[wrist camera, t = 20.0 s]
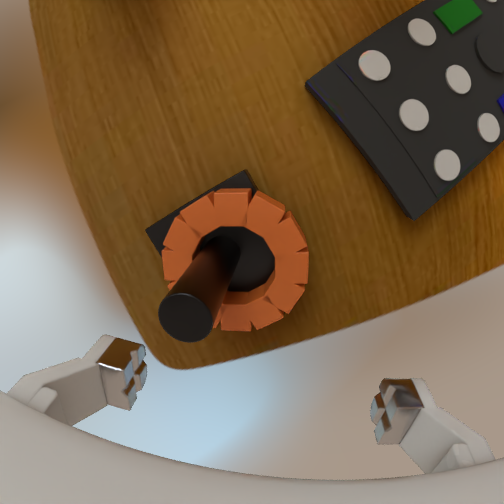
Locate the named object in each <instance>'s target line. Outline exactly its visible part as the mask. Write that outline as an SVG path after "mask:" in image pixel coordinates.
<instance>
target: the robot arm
mask: <svg viewBox="0 0 504 504" xmlns="http://www.w3.org/2000/svg"><path fill="white" fill-rule="evenodd" d="M145 355H146V352H145V346H144V345H143V344H139V343H135V342H131V341H128V340H124V339H120V338H116V337H113V336H109V335H103V336H101V337H100V339H99V340H98V341H97V342H96V343H95V344H94V345H93V347H92V348H91V349H90V350H89V351H88V352H87V353H86V354H85V356H84V357H83V358H82V359H81V358H76V359H73V360H70V361H67V362H64V363H61V364H58V365H55V366H52V367H49V368H45V369H42V370H39V371H36V372H33V373H30V374H26V375H24V376H23V377H22V378H21V379H20V380H19V381H18V382H17V383H16V384H15V385H14V386H13V387H12V388H11V390H10V391H9V392H8V393H7V394H5V393H4V392H2V391H0V504H504V458H500V459H497V460H495V458H494V455H493V453H492V451H491V449H490V447H489V445H488V443H487V441H486V439H485V438H484V437H482V436H481V435H479V434H478V433H477V432H475V431H474V430H472V429H471V428H470V427H468V426H467V425H465V424H464V423H462V422H461V421H460V420H458V419H457V418H455V417H454V416H452V415H451V414H450V413H448V412H447V411H445V410H444V409H443V408H441V407H439V408H438V407H437V405H436V403H435V401H434V399H433V397H432V395H431V393H430V391H429V389H428V387H427V385H426V383H425V381H424V380H423V379H422V378H411V379H389V378H386V379H385V378H384V379H383V380H382V382H381V384H380V386H379V388H380V393H379V394H377V395H376V396H375V397H374V399H373V402H372V405H371V419H372V422H373V423H374V424H375V425H377V426H376V428H375V430H374V432H375V436H376V440H377V444H399V446H400V447H401V448H402V449H403V450H404V451H405V452H406V453H407V454H408V456H409V457H410V458H411V459H412V460H413V461H414V462H415V463H416V464H417V465H418V466H419V467H420V469H421V470H422V471H423V472H424V473H425V474H422V475H414V476H406V477H395V478H383V479H366V480H364V479H363V480H311V479H292V478H280V477H269V476H259V475H252V474H244V473H238V472H231V471H225V470H219V469H214V468H208V467H203V466H198V465H194V464H189V463H185V462H180V461H176V460H172V459H168V458H164V457H160V456H157V455H153V454H150V453H146V452H142V451H139V450H136V449H133V448H130V447H126V446H123V445H120V444H117V443H114V442H112V441H109V440H106V439H103V438H100V437H98V436H95V435H92V434H90V433H87V432H85V431H82V430H80V429H77V428H75V427H72V426H73V425H74V424H76V423H78V422H80V421H81V420H83V419H85V418H87V417H88V416H90V415H92V414H94V413H95V412H97V411H99V410H100V409H102V408H104V407H106V406H107V404H108V405H111V406H115V407H118V408H122V409H125V410H129V411H130V410H131V408H132V406H133V404H134V402H135V401H136V399H137V396H136V392H138V391H140V390H142V388H143V386H144V384H145V380H146V376H147V365H146V363H145V362H144V361H143V358H144V357H145Z"/></svg>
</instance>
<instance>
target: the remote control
mask: <svg viewBox="0 0 504 504" xmlns="http://www.w3.org/2000/svg"><path fill="white" fill-rule="evenodd" d="M305 87H306V88H307V89H308V90H309V91H310V93H311V94H312V95H313V96H314V97H315V98H316V99H317V100H318V101H319V103H320V104H321V105H322V106H323V107H324V108H325V109H326V111H327V112H328V113H329V114H330V115H331V116H332V117H333V119H334V120H335V121H336V122H337V123H338V125H339V126H340V127H341V128H342V129H343V131H344V132H345V133H346V134H347V136H348V137H349V138H350V139H351V140H352V142H353V143H354V144H355V146H356V147H357V148H358V149H359V151H360V152H361V153H362V154H363V156H364V157H365V158H366V160H367V161H368V162H369V164H370V165H371V166H372V168H373V169H374V170H375V172H376V173H377V174H378V176H379V177H380V179H381V180H382V181H383V183H384V184H385V185H386V187H387V188H388V190H389V191H390V193H391V194H392V195H393V197H394V198H395V200H396V201H397V203H398V204H399V206H400V207H401V209H402V210H403V212H404V213H405V215H406V216H407V217H409V218H410V219H412V220H413V221H415V220H416V219H417V218H418V217H420V216H421V215H422V214H423V213H424V212H425V211H427V210H428V209H429V208H430V207H431V206H432V205H434V204H435V203H436V202H437V201H438V200H439V199H440V198H442V197H443V196H444V195H445V194H446V193H447V192H448V191H450V190H451V189H452V188H453V187H454V186H455V185H456V184H457V183H458V182H460V181H461V180H462V179H463V178H464V177H465V176H466V175H467V174H468V173H469V172H470V171H472V170H473V169H474V168H475V167H476V166H477V165H478V164H479V163H480V162H481V161H482V160H483V159H484V158H485V157H486V156H488V155H489V154H490V153H491V152H492V151H493V150H494V149H495V148H496V147H497V146H498V145H499V144H500V143H501V142H502V141H503V140H504V0H425V1H423V2H421V3H420V4H418V5H416V6H415V7H413V8H411V9H410V10H408V11H407V12H405V13H403V14H402V15H400V16H399V17H397V18H395V19H394V20H392V21H391V22H389V23H388V24H386V25H385V26H383V27H381V28H380V29H378V30H377V31H375V32H374V33H372V34H371V35H370V36H368V37H367V38H365V39H364V40H362V41H361V42H359V43H358V44H356V45H355V46H354V47H352V48H351V49H349V50H348V51H347V52H345V53H344V54H342V55H341V56H340V57H338V58H337V59H335V60H334V61H333V62H331V63H330V64H329V65H327V66H326V67H325V68H323V69H322V70H321V71H319V72H318V73H317V74H315V75H314V76H313V77H311V78H310V79H309V80H307V81H306V83H305Z"/></svg>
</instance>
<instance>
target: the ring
mask: <svg viewBox="0 0 504 504" xmlns="http://www.w3.org/2000/svg"><path fill="white" fill-rule="evenodd" d="M220 226H225V227H245V228H247V229H249V230H250V231H252V232H254V233H256V234H257V235H259V236H261V237H263V238H264V240H265V241H266V243H267V245H268V246H269V248H270V250H271V251H272V253H273V255H274V256H275V269H274V271H273V272H272V274H271V275H270V277H269V279H268V280H267V282H266V283H265V284H263V285H261V286H259V287H257V288H255V289H253V290H251V291H249V292H231V291H227V292H226V294H225V297H224V299H223V302H222V304H221V307H220V309H219V312H218V314H217V317H216V319H215V322H214V324H213V328H216V327H217V325H218V323H219V322H220V321H221V330H228V331H251V328H252V324H253V325H254V327H255V328H256V329H257V330H259V329H261V328H263V327H265V326H267V325H270V324H272V323H274V322H276V321H278V320H280V319H282V318H284V312H286V313H288V314H289V313H290V311H291V310H292V308H293V307H294V306H295V304H296V303H297V301H298V300H299V298H300V297H301V295H302V294H303V293H304V291H305V284H307V283H308V266H309V251H308V247H307V242H306V238H305V235H304V234H303V232H302V230H301V228H300V227H299V225H298V223H297V221H296V220H295V218H294V216H293V214H292V213H291V211H288V212H286V213H285V205H283V204H282V203H280V202H278V201H276V200H275V199H273V198H271V197H269V196H268V195H266V194H264V193H262V192H261V191H257V192H256V193H255V195H254V197H253V199H252V191H251V188H230V189H219V190H218V191H216V192H214V191H212V192H210V193H209V194H207V195H205V196H204V197H202V198H201V199H199V200H197V201H196V202H194V203H193V204H191V205H190V206H188V207H186V208H185V209H183V210H182V211H180V215H178V216H177V217H175V219H174V221H173V223H172V225H171V227H170V229H169V231H168V234H167V236H166V238H165V240H164V242H163V245H164V246H166V247H165V248H164V249H163V250H162V260H163V269H164V277H165V280H172V281H171V282H170V283H169V284H168V288H169V289H170V290H171V289H172V287H173V286H174V285H175V284H176V282H177V281H178V280H179V278H180V277H181V276H182V274H183V273H184V272H185V271H186V269H187V268H188V267H189V265H190V264H191V263H192V262H193V260H194V259H195V258H196V256H197V255H198V254H199V253H200V246H201V244H202V242H203V240H204V238H205V236H206V235H207V234H209V233H210V232H212V231H214V230H215V229H217V228H219V227H220Z"/></svg>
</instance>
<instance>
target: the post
mask: <svg viewBox="0 0 504 504" xmlns="http://www.w3.org/2000/svg"><path fill="white" fill-rule="evenodd" d="M230 188H251V191H252V199H253V197H254V195H255V193H256V192H257V191H259V190H258V188H257V186H256V185H255V183H254V181H253V180H252V178H251V176H250V174H249V173H248V171H247V170H246V169H245V170H243V171H241V172H239V173H238V174H236V175H234V176H232V177H231V178H229V179H227V180H225V181H224V182H222V183H220V184H219V185H217V186H215V187H213V188H212V189H210V190H208V191H207V192H205V193H203V194H202V195H200V196H198V197H197V198H195V199H193V200H192V201H190V202H188V203H187V204H185V205H184V206H182V207H180V208H179V209H177V210H175V211H174V212H172V213H171V214H169V215H167V216H166V217H164V218H163V219H161V220H160V221H158V222H156V223H155V224H153V225H152V226H150V227H149V228H147V229H146V230H145V231H146V233H147V234H148V236H149V238H150V239H151V241H152V242H153V244H154V246H155V247H156V249H157V250H158V252H159V254H160V255H161V257H162V250H163V249H164V248H165V247H166V246H164V245H163V242H164V240H165V238H166V236H167V234H168V231H169V229H170V227H171V225H172V223H173V221H174V219H175V217H177V216H178V215H180V211H182V210H183V209H185V208H186V207H188V206H190V205H191V204H193V203H194V202H196V201H197V200H199V199H201V198H202V197H204V196H205V195H207V194H209V193H210V192H212V191H214V192H216V191H218V190H219V189H230ZM274 269H275V256H274V255H273V253H272V251H271V250H270V248H269V246H268V245H267V243H266V241H265V240H264V238H263V237H261V236H259V235H257V234H256V233H254V232H252V231H250V230H249V229H247V228H245V227H225V226H220V227H219V228H217V229H215V230H214V231H212V232H210V233H209V234H207V235H206V236H205V238H204V240H203V242H202V244H201V246H200V253H199V254H198V255H197V256H196V258H195V259H194V260H193V262H192V263H191V264H190V265H189V267H188V268H187V269H186V271H185V272H184V273H183V274H182V276H181V277H180V278H179V280H178V281H177V282H176V284H175V285H174V286H173V287H172V289H171V290H170V291H169V293H168V294H167V295H166V297H165V298H164V299H163V301H162V302H161V304H160V306H159V310H158V316H159V321H160V323H161V325H162V327H163V329H164V330H165V331H166V332H167V333H168V334H169V335H170V336H172V337H173V338H175V339H177V340H179V341H183V342H190V343H191V342H197V341H200V340H202V339H204V338H205V337H207V336H208V334H209V333H210V332H211V330H212V327H213V324H214V322H215V319H216V317H217V314H218V312H219V309H220V307H221V304H222V302H223V299H224V297H225V294H226V292H227V291H231V292H249V291H251V290H253V289H255V288H257V287H259V286H261V285H263V284H265V283H266V282H267V280H268V279H269V277H270V275H271V274H272V272H273V271H274Z"/></svg>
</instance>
